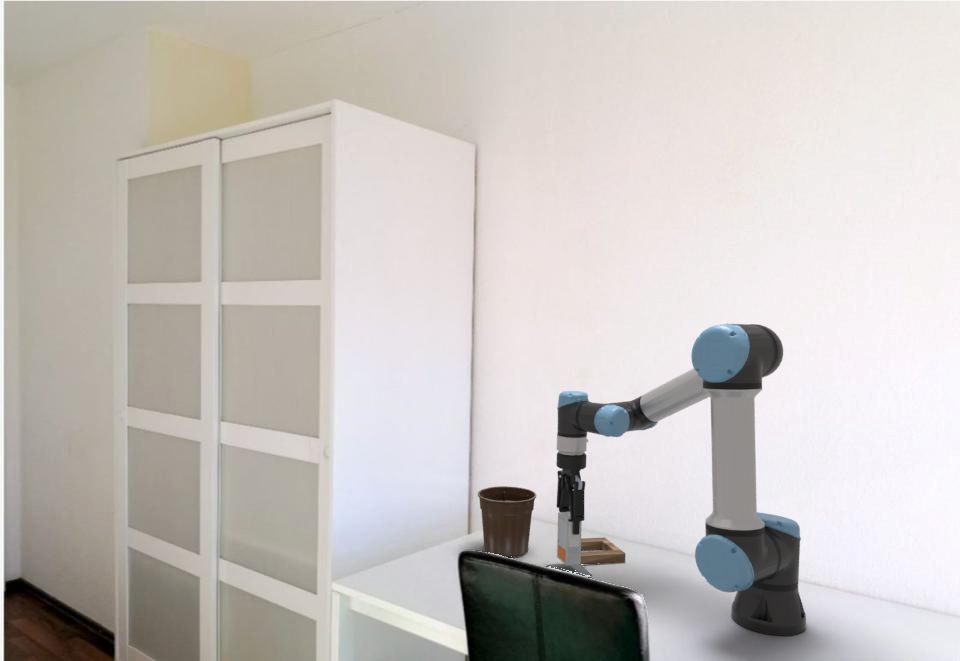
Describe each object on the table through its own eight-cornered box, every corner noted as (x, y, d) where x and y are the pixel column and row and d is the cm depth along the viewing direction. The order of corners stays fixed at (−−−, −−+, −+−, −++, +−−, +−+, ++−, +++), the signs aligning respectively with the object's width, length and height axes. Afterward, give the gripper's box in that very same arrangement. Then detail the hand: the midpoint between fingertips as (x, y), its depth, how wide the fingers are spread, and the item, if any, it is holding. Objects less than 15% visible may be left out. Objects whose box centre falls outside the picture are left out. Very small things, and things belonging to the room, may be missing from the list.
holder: (625, 562, 197) (625, 553, 197) (575, 565, 194) (576, 556, 194) (604, 546, 211) (604, 537, 211) (557, 548, 207) (557, 539, 207)
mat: (591, 577, 186) (591, 574, 186) (557, 579, 184) (557, 576, 184) (578, 564, 194) (578, 562, 194) (546, 567, 192) (546, 564, 192)
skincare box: (556, 558, 191) (557, 512, 191) (571, 556, 192) (572, 511, 192) (565, 565, 185) (566, 518, 185) (581, 564, 187) (582, 517, 186)
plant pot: (518, 565, 193) (519, 504, 193) (465, 554, 201) (466, 495, 201) (544, 548, 207) (546, 491, 207) (494, 538, 215) (495, 483, 215)
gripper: (600, 459, 180) (597, 553, 180) (572, 444, 198) (569, 530, 199) (571, 460, 178) (568, 555, 179) (545, 445, 197) (543, 531, 197)
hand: (569, 541), depth 189 cm, fingers closed on skincare box, 6 cm apart
